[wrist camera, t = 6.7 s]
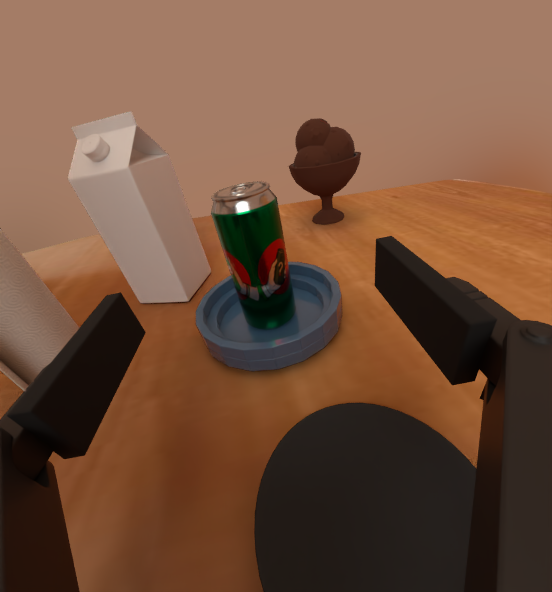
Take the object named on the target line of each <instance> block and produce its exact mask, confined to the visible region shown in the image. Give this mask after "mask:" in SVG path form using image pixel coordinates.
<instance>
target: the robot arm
mask: <svg viewBox="0 0 552 592" xmlns="http://www.w3.org/2000/svg"><path fill="white" fill-rule="evenodd" d="M375 287H376V288H377V289H378V290H379V292H380V293H381V294H382V296H383V297H384V298H385V299H386V301H387V302H388V303H389V305H390V306H391V307H392V308H393V310H394V311H395V312H396V314H397V315H398V316H399V317H400V319H401V320H402V321H403V323H404V324H405V325H406V326H407V328H408V329H409V330H410V332H411V333H412V334H413V335H414V337H415V338H416V339H417V341H418V342H419V343H420V344H421V346H422V347H423V348H424V350H425V351H426V352H427V353H428V355H429V356H430V357H431V359H432V360H433V361H434V362H435V364H436V365H437V366H438V368H439V369H440V370H441V371H442V373H443V374H444V375H445V377H446V378H447V379H448V380H449V382H450V383H451V384H452V385H456V384H462V383H467V382H472V381H475V379H476V376H477V373H478V371H479V369H480V370H481V371H482V372H483V374H484V375H485V376H486V377H487V378H488V379H487V382H486V384H485V387H484V389H483V391H482V394H481V396H480V399H482V400H484V402H483V411H482V421H481V431H480V441H479V450H478V460H477V470H476V479H475V489H474V499H473V508H472V518H471V528H470V537H469V547H468V557H467V566H466V576H465V586H464V592H552V326H551V325H549V324H545V323H542V322H538V321H530V320H522V321H521V320H520V319H518V318H517V317H516V316H514V315H513V314H512V313H510V312H509V311H507V310H506V309H505V308H503V307H502V306H500V305H499V304H498V303H496V302H495V301H494V300H492V299H491V298H488V297H487V295H485V294H484V293H483V292H481V291H480V292H479V290H478V289H477V288H476V287H474V286H473V285H471V284H470V283H469V282H466V281H464V280H461V279H459V278H456V277H451V278H444V277H443V276H442V275H441V274H439V273H438V272H437V271H436V270H434V269H433V268H432V267H430V266H429V265H428V264H427V263H425V262H424V261H423V260H422V259H420V258H419V257H418V256H416V255H415V254H414V253H413V252H411V251H410V250H409V249H408V248H406V247H405V246H404V245H402V244H401V243H400V242H399V241H397V240H396V239H395V238H394V237H392V236H388V237H384V238H379V239H376V262H375ZM145 333H146V332H145V331H144V329H143V328H142V326H141V324H140V323H139V321H138V319H137V318H136V316H135V315H134V313H133V311H132V310H131V308H130V307H129V305H128V303H127V302H126V300H125V298H124V297H123V295H122V294H121V293H116V294H111V295H107V296H106V297H105V298H104V299H103V300H102V301H101V303H100V304H99V305H98V306H97V307H96V309H95V310H94V311H93V312H92V314H91V315H90V316H89V317H88V318H87V320H86V321H85V322H84V323H83V324H82V326H81V327H80V328H79V329H78V330H77V332H76V333H75V334H74V335H73V336H72V338H71V339H70V340H69V341H68V342H67V344H66V345H65V346H64V347H63V349H62V350H61V351H60V352H59V353H58V355H57V356H56V357H55V358H54V359H53V361H52V362H51V363H50V364H48V365H47V366H46V367H45V368H44V369H42V371H41V372H40V373H39V374H38V375H37V377H36V378H35V379H34V382H32V383H31V384H30V385H29V386H28V387H27V388H26V391H24V392H23V393H22V394H21V396H20V397H19V398H18V399H17V400H16V402H15V403H14V404H13V405H12V406H11V408H10V409H9V410H8V411H7V412H6V414H5V415H4V416H3V417H2V418H1V419H0V592H79V587H78V582H77V577H76V572H75V567H74V563H73V558H72V553H71V548H70V543H69V538H68V533H67V528H66V523H65V519H64V514H63V509H62V504H61V499H60V494H59V489H58V484H57V479H56V475H55V470H54V466H53V465H52V463H51V462H49V461H48V459H49V457H50V456H51V454H52V452H53V451H54V452H55V453H57V454H58V455H59V456H61V457H62V458H63V459H68V458H73V457H78V456H84V455H85V454H86V452H87V450H88V448H89V446H90V444H91V442H92V440H93V438H94V436H95V434H96V432H97V430H98V428H99V426H100V424H101V421H102V419H103V417H104V415H105V413H106V411H107V409H108V407H109V405H110V403H111V401H112V399H113V397H114V395H115V393H116V391H117V389H118V387H119V385H120V383H121V381H122V379H123V377H124V375H125V373H126V371H127V369H128V367H129V365H130V363H131V361H132V359H133V357H134V355H135V353H136V351H137V349H138V347H139V345H140V343H141V341H142V339H143V337H144V335H145Z"/></svg>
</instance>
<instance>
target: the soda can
mask: <svg viewBox="0 0 552 592" xmlns="http://www.w3.org/2000/svg"><path fill="white" fill-rule="evenodd" d="M212 200H213V201H214V202H213V206H212V211H211V215H212V218H213V221H214V224H215V227H216V230H217V233H218V236H219V240H220V243H221V246H222V249H223V252H224V255H225V258H226V261H227V264H228V268H229V271H230V274H231V277H232V280H233V283H234V286H235V289H236V292H237V296H238V299H239V302H240V305H241V308H242V311H243V314H244V317H245V320H246V322H247V323H248V324H249V325H251V326H252V327H254V328H257V329H261V330H273V329H277V328H279V327H281V326H283V325H285V324H286V323H287V322H289V321H290V319H291V318H292V317H293V315H294V314H295V311H296V305H295V299H294V293H293V288H292V282H291V276H290V271H289V265H288V259H287V254H286V248H285V242H284V237H283V231H282V225H281V220H280V214H279V208H278V203H277V197H276V196H275V195H274V194H273V193H272V192H271V190H270V189H269V183H267V182H262V181H259V182H258V181H257V182H248V183H243V184H238V185H234V186H230V187H227V188H225V189H222V190H219V191H217V192H216V193H214V194H213V195H212Z"/></svg>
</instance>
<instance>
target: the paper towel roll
mask: <svg viewBox="0 0 552 592" xmlns="http://www.w3.org/2000/svg"><path fill="white" fill-rule="evenodd" d="M78 329H79V326H78V325H77V324H76V323H75V321H74V320H73V319H72V318H71V316H70V315H69V314H68V313H67V311H66V310H65V309H64V307H63V306H62V305H61V304H60V302H59V301H58V300H57V299H56V297H55V296H54V295H53V294H52V292H51V291H50V290H49V289H48V287H47V286H46V285H45V284H44V282H43V281H42V280H41V279H40V277H39V276H38V275H37V274H36V272H35V271H34V270H33V269H32V267H31V266H30V265H29V263H28V262H27V261H26V260H25V258H24V257H23V256H22V255H21V253H20V252H19V251H18V250H17V248H16V247H15V246H14V245H13V243H12V242H11V241H10V240H9V238H8V237H7V236H6V235H5V233H4V232H3V231H2V230H1V228H0V371H1V372H3V373H4V374H5V375H6V376H7V377H8V378H10V379H11V380H12V381H13V382H14V383H15V384H16V385H18V386H19V387H20V388H21V389H22V390H23V391H26V388H27V387H28V385H30V384H31V383H32V382H34V379H35V378H36V377H37V375H38V374H39V373H40V372H41V371H42V369H44V368H45V367H46V366H47V365H48V364H50V363H51V362H52V361H53V359H54V358H55V357H56V356H57V355H58V353H59V352H60V351H61V350H62V349H63V347H64V346H65V345H66V344H67V342H68V341H69V340H70V339H71V338H72V336H73V335H74V334H75V333H76V332H77V330H78ZM27 384H28V385H27Z"/></svg>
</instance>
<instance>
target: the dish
mask: <svg viewBox="0 0 552 592" xmlns="http://www.w3.org/2000/svg"><path fill="white" fill-rule="evenodd" d="M288 265H289V271H290V276H291V282H292V288H293V293H294V299H295V305H296V311H295V314H294V315H293V317H292V318H291V319H290V321H289V322H287V323H286V324H285V325H283V326H281V327H279V328H277V329H273V330H261V329H257V328H254V327H252V326H251V325H249V324H248V323H247V322H246V320H245V317H244V314H243V311H242V308H241V305H240V302H239V299H238V296H237V292H236V289H235V286H234V283H233V280H232V277H231V276H229V277H227V278H226V279H224V280H223V281H221V282H220V283H218V284H217V285H215V286H214V287H213V288H212V289H211V290H210V291H209V292H208V293H207V294H206V295H205V296H204V297H203V298H202V300H201V302H200V304H199V306H198V308H197V310H196V326H197V328H198V330H199V332H200V334H201V337H202V339H203V341H204V343H205V345H206V347H207V348H208V350H209V352H210V353H211V355H212V356H213V357H214V358H216V359H217V360H219V361H220V362H222V363H224V364H225V365H227V366H229V367H233V368H238V369H243V370H248V371H261V370H275V369H281V368H284V367H287V366H290V365H293V364H296V363H299V362H302V361H304V360H306V359H307V358H309V357H311V356H312V355H314V354H315V353H317V352H318V351H320V350H321V349H323V348H324V347H325V346H326V345H327V344H328V343H329V342H330V340H331V339H332V338H333V337H334V335H335V334H336V333H337V332H338V329H339V325H340V322H341V318H342V300H341V292H340V288H339V283H338V281H337V280H336V279H335V278H334V277H333V276H332V275H331V274H330V273H329V272H328V271H326V270H324V269H322V268H320V267H318V266H315V265H311V264H306V263H302V262H288Z"/></svg>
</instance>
